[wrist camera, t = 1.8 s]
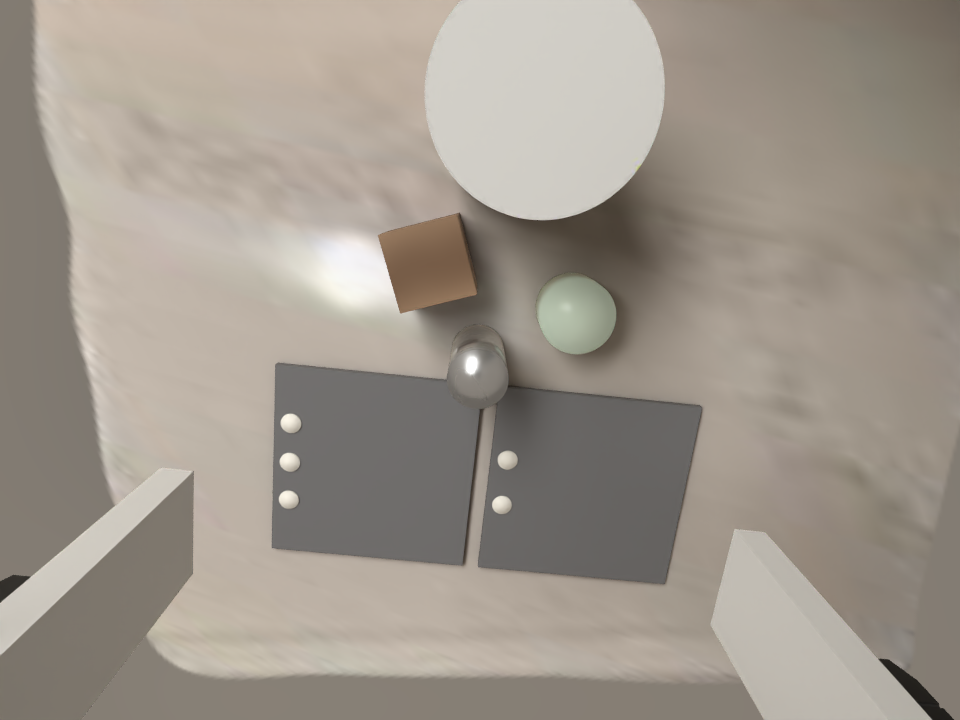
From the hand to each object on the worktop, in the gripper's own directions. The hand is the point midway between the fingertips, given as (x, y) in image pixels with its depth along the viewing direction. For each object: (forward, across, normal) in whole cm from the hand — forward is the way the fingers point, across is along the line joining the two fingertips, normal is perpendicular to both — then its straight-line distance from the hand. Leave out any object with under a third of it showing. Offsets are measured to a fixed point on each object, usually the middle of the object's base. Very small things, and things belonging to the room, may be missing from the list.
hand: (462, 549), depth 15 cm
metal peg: (+21, 0, 0) cm, 21 cm away
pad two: (+21, +8, -8) cm, 24 cm away
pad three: (+21, -5, -8) cm, 23 cm away
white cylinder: (+21, +1, +12) cm, 24 cm away
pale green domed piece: (+21, +6, +3) cm, 22 cm away
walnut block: (+21, -2, +5) cm, 22 cm away
